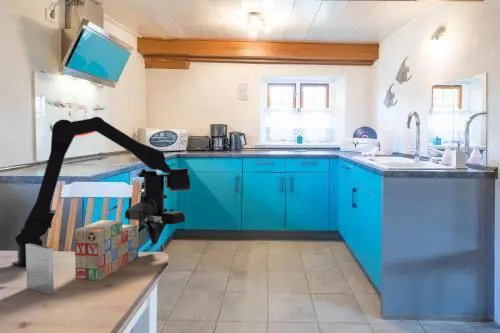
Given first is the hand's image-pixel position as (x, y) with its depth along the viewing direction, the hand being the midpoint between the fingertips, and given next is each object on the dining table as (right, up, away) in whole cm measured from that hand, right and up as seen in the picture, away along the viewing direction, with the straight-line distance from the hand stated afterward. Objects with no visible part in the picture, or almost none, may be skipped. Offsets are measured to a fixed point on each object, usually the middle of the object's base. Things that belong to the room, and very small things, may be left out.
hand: (154, 244), depth 127 cm
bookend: (-18, -5, -32) cm, 37 cm away
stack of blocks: (-9, -4, -14) cm, 17 cm away
